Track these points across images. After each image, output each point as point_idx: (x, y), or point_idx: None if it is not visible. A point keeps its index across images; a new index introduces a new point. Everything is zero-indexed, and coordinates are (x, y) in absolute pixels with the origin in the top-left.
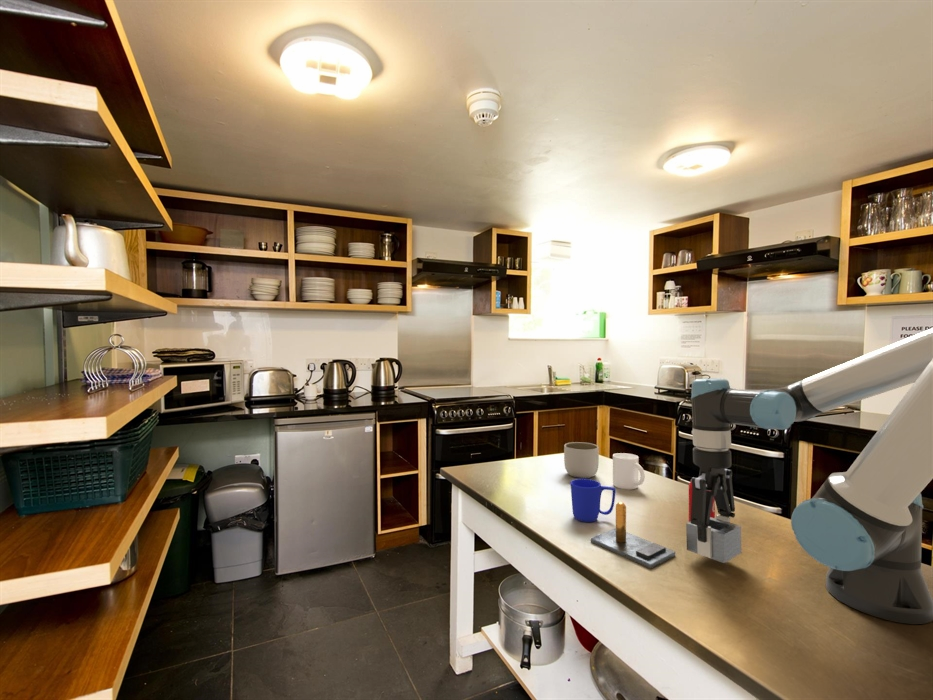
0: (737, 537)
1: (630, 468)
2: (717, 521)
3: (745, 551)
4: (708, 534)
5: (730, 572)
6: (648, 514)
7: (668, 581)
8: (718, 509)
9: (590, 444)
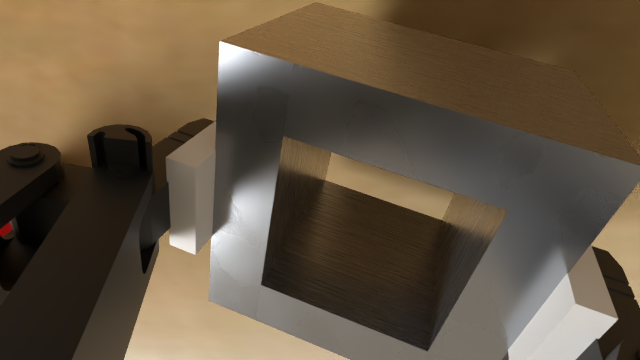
0: (332, 40)
1: None
2: (266, 226)
3: (164, 6)
4: (591, 271)
5: (484, 28)
6: (146, 348)
7: None
8: (147, 274)
9: None
